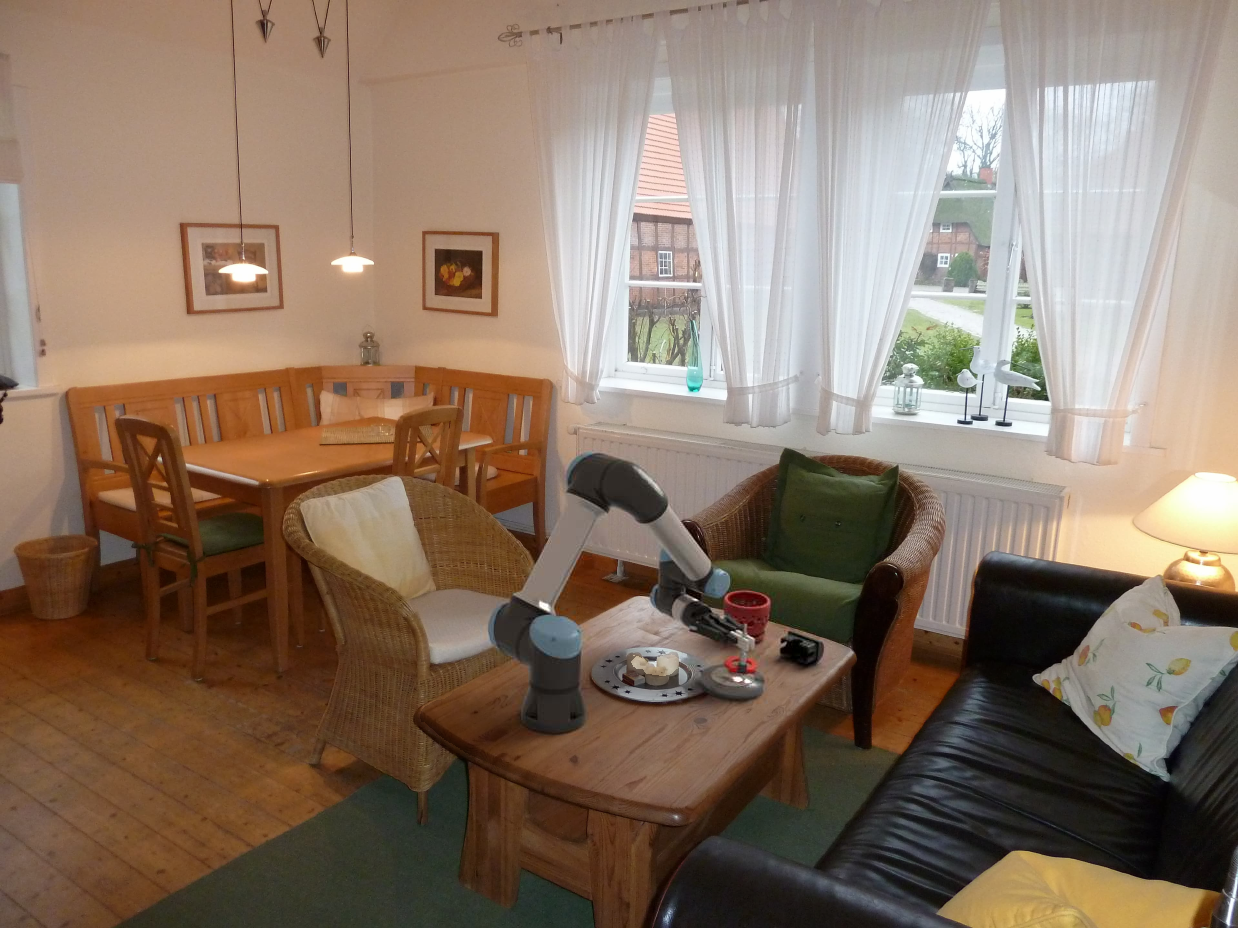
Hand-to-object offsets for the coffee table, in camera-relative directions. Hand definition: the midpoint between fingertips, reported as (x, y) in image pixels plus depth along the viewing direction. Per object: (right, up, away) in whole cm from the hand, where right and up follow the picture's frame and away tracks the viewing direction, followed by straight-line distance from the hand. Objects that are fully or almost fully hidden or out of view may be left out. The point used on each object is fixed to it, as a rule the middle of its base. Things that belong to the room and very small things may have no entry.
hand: (750, 644), depth 238 cm
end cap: (+17, -9, +26) cm, 32 cm away
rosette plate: (-4, -12, +7) cm, 15 cm away
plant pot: (+4, -5, +39) cm, 40 cm away
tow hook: (-2, -7, +7) cm, 10 cm away
